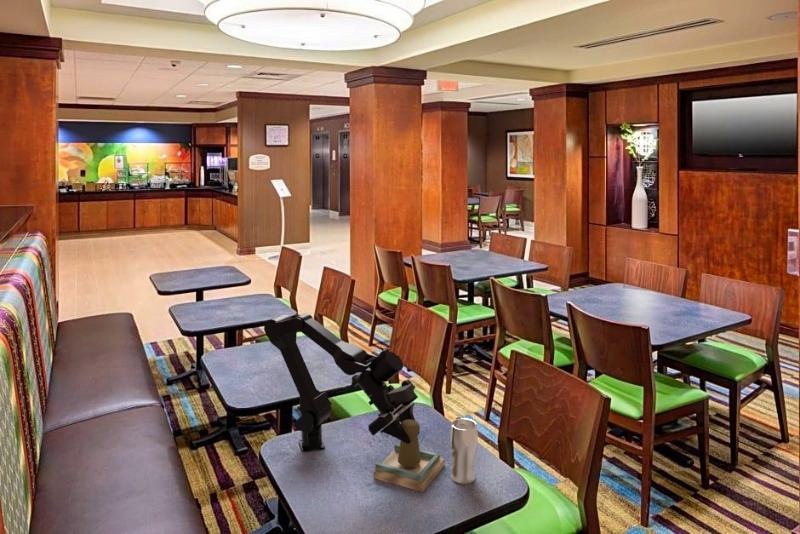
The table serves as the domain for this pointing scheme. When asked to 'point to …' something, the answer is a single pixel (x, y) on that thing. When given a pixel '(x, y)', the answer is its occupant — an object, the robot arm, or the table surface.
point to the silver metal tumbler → (463, 449)
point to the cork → (410, 444)
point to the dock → (410, 470)
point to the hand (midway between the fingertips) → (414, 438)
